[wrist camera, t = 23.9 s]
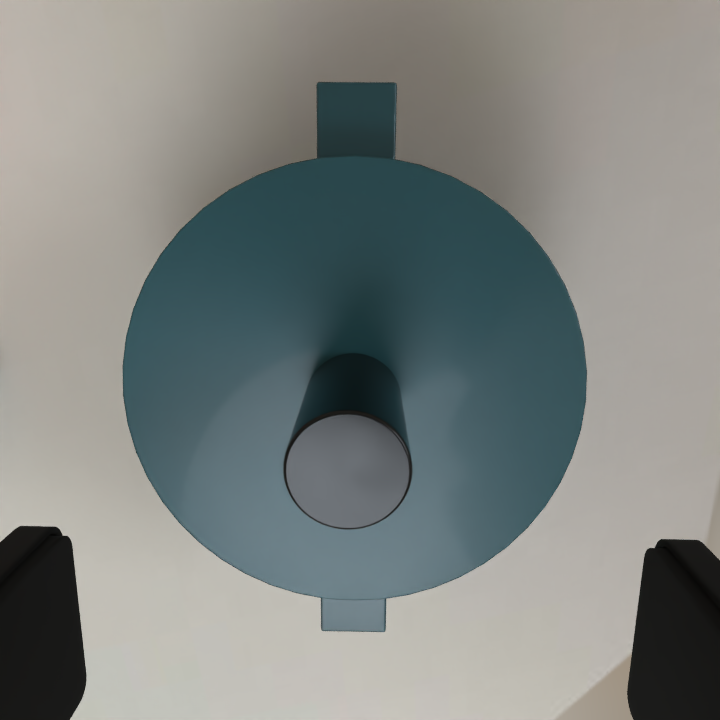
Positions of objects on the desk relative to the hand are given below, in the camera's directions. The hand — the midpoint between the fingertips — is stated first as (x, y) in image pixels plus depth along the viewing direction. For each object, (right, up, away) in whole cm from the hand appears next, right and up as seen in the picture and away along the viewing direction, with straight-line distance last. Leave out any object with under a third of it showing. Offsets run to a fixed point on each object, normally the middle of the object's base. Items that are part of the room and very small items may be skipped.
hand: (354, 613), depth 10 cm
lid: (0, +3, +10) cm, 11 cm away
